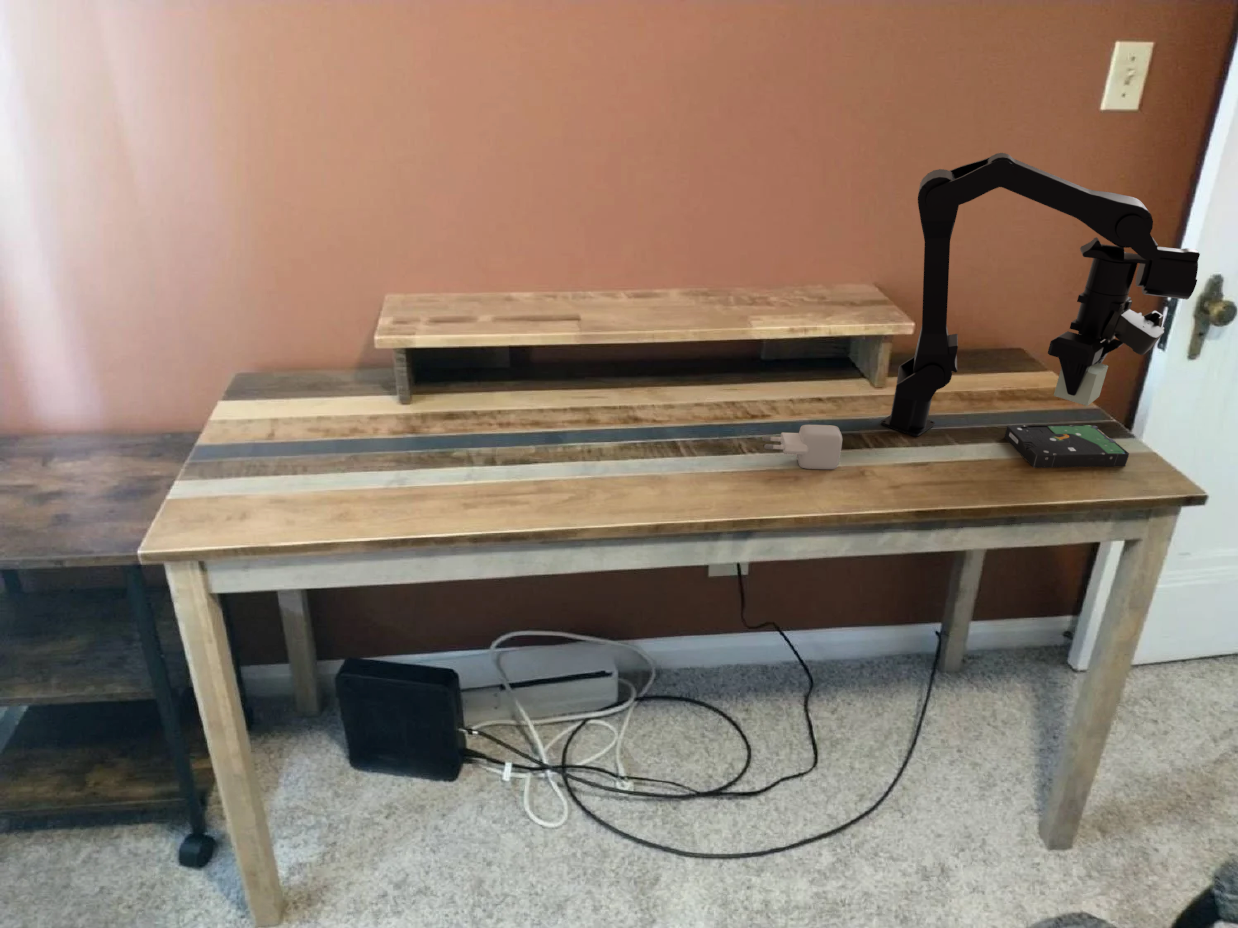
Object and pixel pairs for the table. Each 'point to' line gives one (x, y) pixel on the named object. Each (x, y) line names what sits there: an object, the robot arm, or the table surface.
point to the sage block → (1084, 385)
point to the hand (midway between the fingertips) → (1077, 389)
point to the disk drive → (1065, 446)
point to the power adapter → (811, 446)
